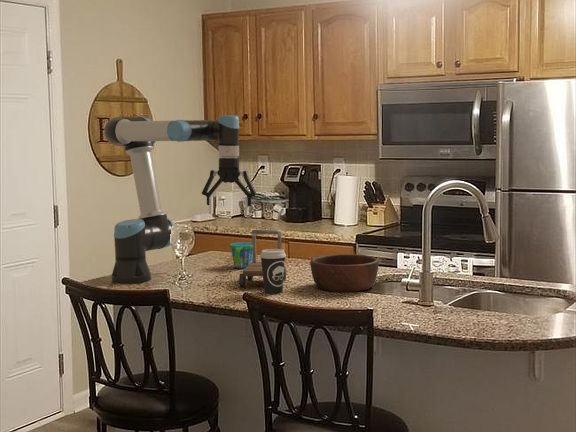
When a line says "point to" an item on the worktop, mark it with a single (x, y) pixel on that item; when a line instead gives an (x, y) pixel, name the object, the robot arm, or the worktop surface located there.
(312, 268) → the wooden bowl
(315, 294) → the worktop surface
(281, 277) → the coffee cup
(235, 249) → the snack cup
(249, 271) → the trolley
